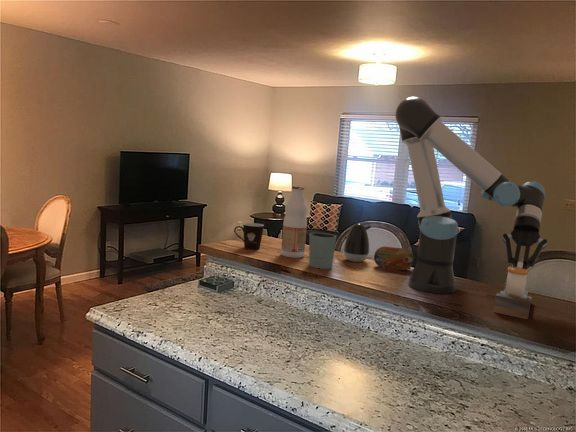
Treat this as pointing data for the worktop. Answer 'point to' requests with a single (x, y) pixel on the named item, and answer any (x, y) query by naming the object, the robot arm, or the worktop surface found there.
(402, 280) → the worktop surface
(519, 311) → the knob mount
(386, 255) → the tin
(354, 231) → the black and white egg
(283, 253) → the fruit juice
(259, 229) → the coffee mug
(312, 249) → the green tapered cup
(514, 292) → the knob
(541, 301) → the worktop surface
